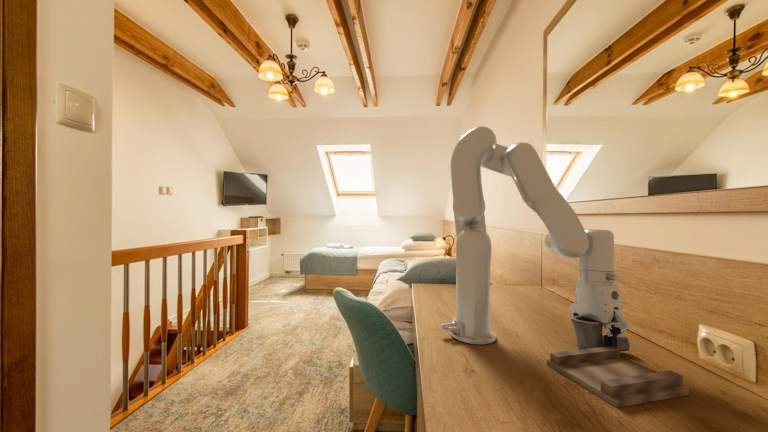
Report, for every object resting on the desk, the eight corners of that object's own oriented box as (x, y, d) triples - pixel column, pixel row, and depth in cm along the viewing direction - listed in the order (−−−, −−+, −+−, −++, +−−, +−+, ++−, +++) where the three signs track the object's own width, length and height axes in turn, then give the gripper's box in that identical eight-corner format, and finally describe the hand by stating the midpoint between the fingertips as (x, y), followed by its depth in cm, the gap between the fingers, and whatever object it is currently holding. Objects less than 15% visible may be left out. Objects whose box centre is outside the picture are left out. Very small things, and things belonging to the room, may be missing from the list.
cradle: (616, 407, 52) (616, 389, 52) (546, 364, 68) (546, 350, 68) (689, 394, 56) (689, 378, 56) (607, 357, 72) (607, 344, 72)
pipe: (633, 358, 71) (633, 325, 72) (576, 353, 74) (576, 321, 74) (619, 347, 77) (619, 317, 78) (566, 343, 80) (566, 314, 80)
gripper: (643, 282, 69) (644, 358, 68) (578, 270, 86) (579, 331, 85) (618, 283, 67) (619, 362, 67) (557, 271, 84) (558, 333, 83)
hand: (597, 344), depth 76 cm, fingers closed on pipe, 6 cm apart
